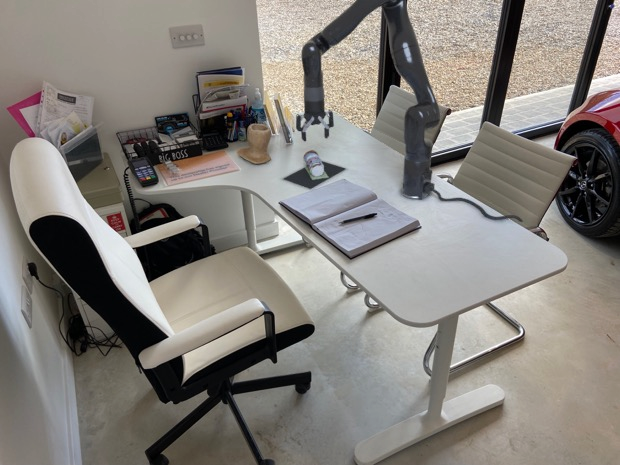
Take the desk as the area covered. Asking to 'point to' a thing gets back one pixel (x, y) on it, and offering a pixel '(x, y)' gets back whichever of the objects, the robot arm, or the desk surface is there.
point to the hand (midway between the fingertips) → (315, 139)
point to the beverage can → (314, 163)
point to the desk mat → (309, 180)
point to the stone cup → (256, 144)
